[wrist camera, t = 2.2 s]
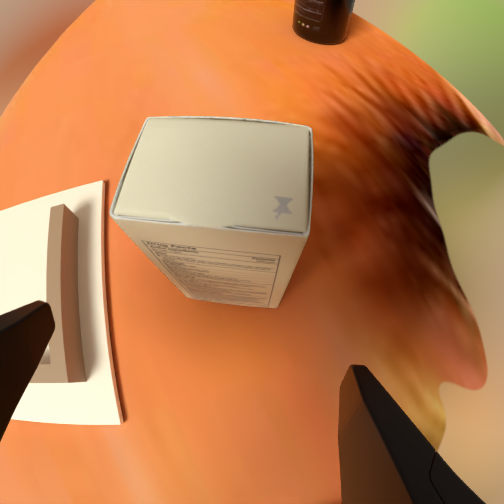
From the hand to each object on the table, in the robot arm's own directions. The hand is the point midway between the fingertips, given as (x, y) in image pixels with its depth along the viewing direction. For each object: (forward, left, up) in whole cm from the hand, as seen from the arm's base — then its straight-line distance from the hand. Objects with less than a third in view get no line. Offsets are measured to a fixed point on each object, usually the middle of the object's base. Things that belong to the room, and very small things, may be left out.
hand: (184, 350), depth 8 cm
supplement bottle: (+33, -17, -12) cm, 39 cm away
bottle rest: (+5, +15, -12) cm, 20 cm away
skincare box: (+5, -2, -12) cm, 13 cm away
